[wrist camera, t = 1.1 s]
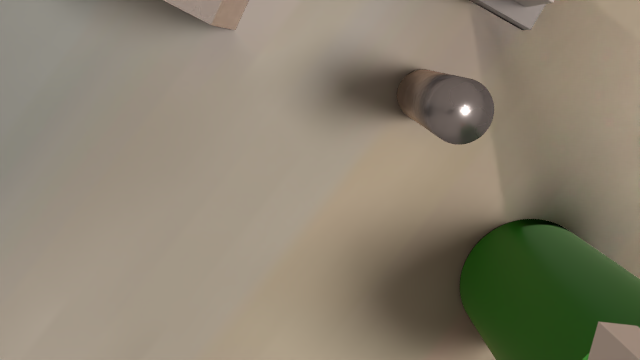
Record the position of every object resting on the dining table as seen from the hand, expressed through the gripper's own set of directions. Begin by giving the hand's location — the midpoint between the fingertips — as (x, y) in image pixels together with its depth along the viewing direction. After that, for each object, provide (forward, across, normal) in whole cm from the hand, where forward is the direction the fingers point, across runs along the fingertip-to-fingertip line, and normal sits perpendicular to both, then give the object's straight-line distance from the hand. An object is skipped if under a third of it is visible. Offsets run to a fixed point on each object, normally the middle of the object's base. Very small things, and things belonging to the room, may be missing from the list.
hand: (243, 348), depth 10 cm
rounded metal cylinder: (+30, +9, +3) cm, 31 cm away
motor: (+30, +19, -10) cm, 37 cm away
